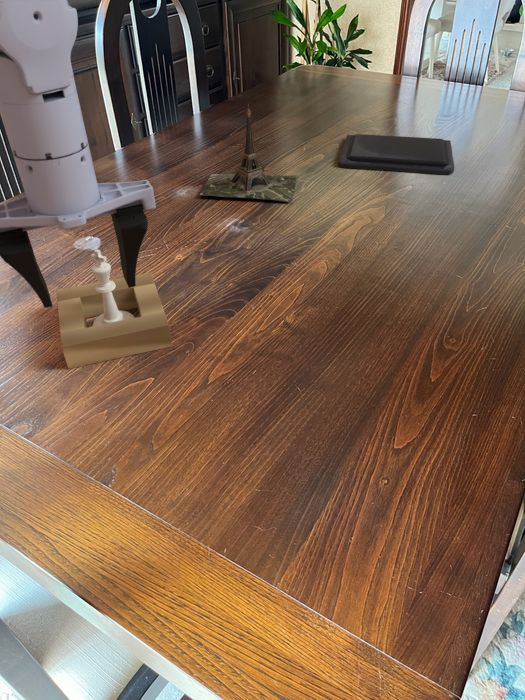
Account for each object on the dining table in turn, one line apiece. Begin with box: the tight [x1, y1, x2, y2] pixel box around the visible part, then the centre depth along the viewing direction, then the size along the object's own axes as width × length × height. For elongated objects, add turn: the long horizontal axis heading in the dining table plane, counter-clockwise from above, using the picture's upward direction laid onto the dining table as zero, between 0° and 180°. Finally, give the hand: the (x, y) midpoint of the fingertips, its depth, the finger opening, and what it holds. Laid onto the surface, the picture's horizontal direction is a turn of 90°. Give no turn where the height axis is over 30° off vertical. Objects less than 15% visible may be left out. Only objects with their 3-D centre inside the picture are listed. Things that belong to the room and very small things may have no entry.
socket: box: [55, 271, 173, 370], centre depth 62 cm, size 11×11×3 cm
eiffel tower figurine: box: [199, 104, 298, 203], centre depth 87 cm, size 15×10×13 cm
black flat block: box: [337, 133, 455, 176], centre depth 101 cm, size 20×2×15 cm
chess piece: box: [90, 248, 136, 326], centre depth 60 cm, size 5×5×10 cm
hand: (89, 291), depth 52 cm, fingers open, 7 cm apart
